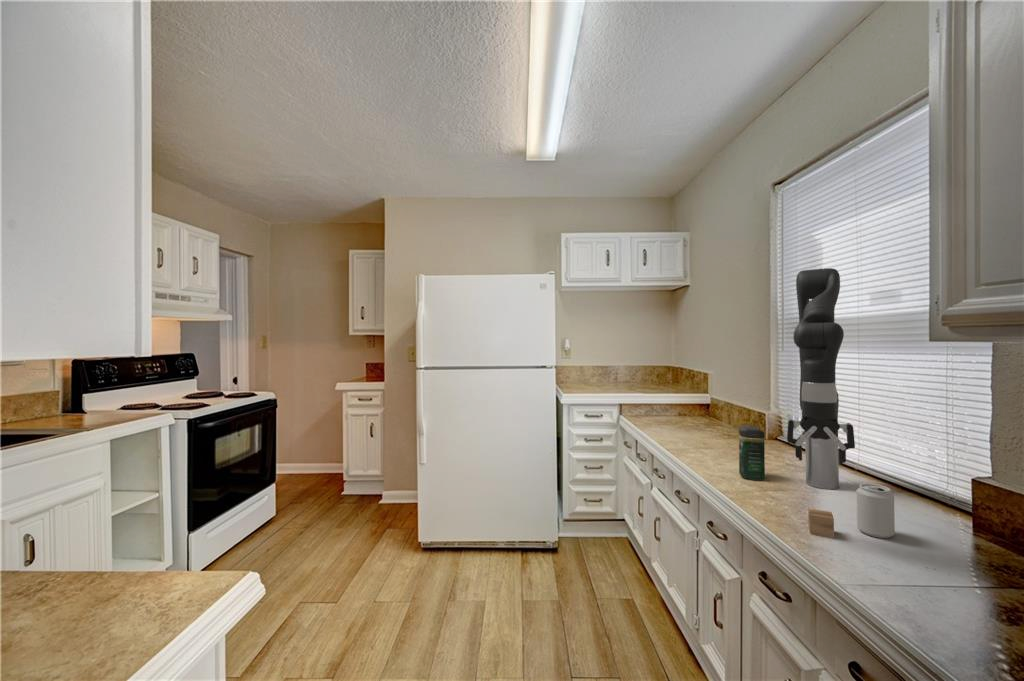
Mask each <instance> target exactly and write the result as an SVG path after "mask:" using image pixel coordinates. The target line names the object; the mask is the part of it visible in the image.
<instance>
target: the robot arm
mask: <svg viewBox="0 0 1024 681" xmlns="http://www.w3.org/2000/svg"><path fill="white" fill-rule="evenodd" d="M795 286H796V287H795V288H796V298H797V311H798V321H799V322H798V324H797V325H796V327H795V328H794V331H793V342H794V344H795V346H796V347H797V348H798V349H799V350H798V352H799V353H798V354H799V363H800V380H799V381H800V383H799V407H800V410H801V420H794V419H788V420H787V431H786V432H787V433H786V434H787V435H786V439H787V442H788V443H789V444H792V445H794V446H795V447H794V448H795V454H794V455H795V457H796V459H798V461H803V443H804V442H805V448H804V449H805V483H806V484H807V485H808V486H810V487H811V486H812V487H814V488H818V489H826V490H836V489H839V488H840V475H839V474H840V473H839V472H840V471H839V468H840V467H839V466H840V465H841V466H843V463H844V464H845V463H846V461H847V450H850V449H853V450H854V449H855V447H856V442H855V441H856V440H855V430H854V425H853V424H851V423H850V422H847V423H839V421H838V420H839V404H840V403H839V400H840V399H839V393H838V391H837V384H836V363H837V358H838V355H839V352H840V349H841V346H842V343H843V340H844V334H845V332H844V330H843V328H842V326H841V324H839V323H836V322H835V309H836V305H837V302H838V298H839V294H840V290H841V276H840V273H839V271H838V270H837V269H836V268H830V267H829V268H828V267H827V268H815V269H806V270H805V269H804V270H801V271H800V270H799V272H798V273H797V275H796V281H795ZM798 426H800V427H801V429H802V430H803V432H802V433H801V434H800V435H799V436H798V437H797V439H796V438H794V430H795V429H798ZM840 429H842V431H843V433H845V434H846V440H847V442H845V443H843V442H842V441H841V439H839V430H840Z"/></svg>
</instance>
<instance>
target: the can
mask: <svg viewBox="0 0 1024 681" xmlns="http://www.w3.org/2000/svg"><path fill="white" fill-rule="evenodd" d="M891 491H892V490H891V488H889V487H887V486H884V485H880V484H877V483H860V484H859V487H858V488H857V489H856V527H857V528H858V529H859V531H860V532H862V533H863V534H865V535H867V536H871V537H874V538H877V537H878V539H879V538H880V539H890V538H891V537H893V536H894V535H895V532H896V531H895V495H894V494H893V493H892V492H891Z"/></svg>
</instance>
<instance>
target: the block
mask: <svg viewBox="0 0 1024 681" xmlns="http://www.w3.org/2000/svg"><path fill="white" fill-rule="evenodd" d="M807 510H808V511H807V512H808V516H807V517H808V521H807V522H808V530H809V534H810V533H811V534H810V535H813V534H815V535H814V536H819V535H820V536H819V537H824V536H826V537H825V538H830V537H831V539H835V518H834V516H833V513H832V511H829V510H821V509H816V508H810V507H809V508H808V509H807Z"/></svg>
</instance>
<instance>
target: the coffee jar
mask: <svg viewBox="0 0 1024 681" xmlns="http://www.w3.org/2000/svg"><path fill="white" fill-rule="evenodd" d="M765 439H766V438H765V431H764V430H763V429H761V428H759V427H758V426H756V425H755V424H753V425H752V424H750V425H749V424H743V425H742V426H740V427H739V428H738V458H739V459H738V473H739V474H740V476H741V477H742V478H743V479H747V480H752V481H760V480H762V481H763V480H765V477H766V469H765V468H766V467H765V465H766V463H765V460H766V459H765V457H766V454H765V450H766V448H765Z"/></svg>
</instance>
